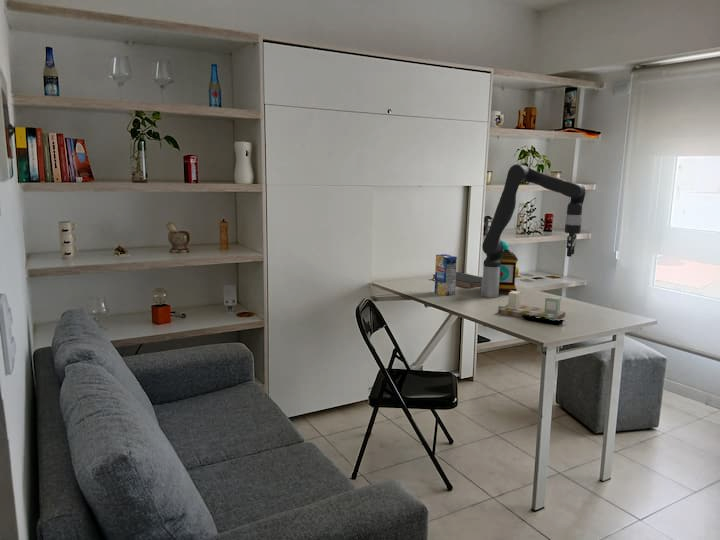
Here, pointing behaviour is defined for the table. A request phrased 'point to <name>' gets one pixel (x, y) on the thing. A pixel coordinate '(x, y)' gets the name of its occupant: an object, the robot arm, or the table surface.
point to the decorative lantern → (508, 269)
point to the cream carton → (514, 299)
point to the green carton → (552, 305)
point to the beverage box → (445, 274)
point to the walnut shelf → (528, 312)
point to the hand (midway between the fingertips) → (570, 255)
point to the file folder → (467, 280)
